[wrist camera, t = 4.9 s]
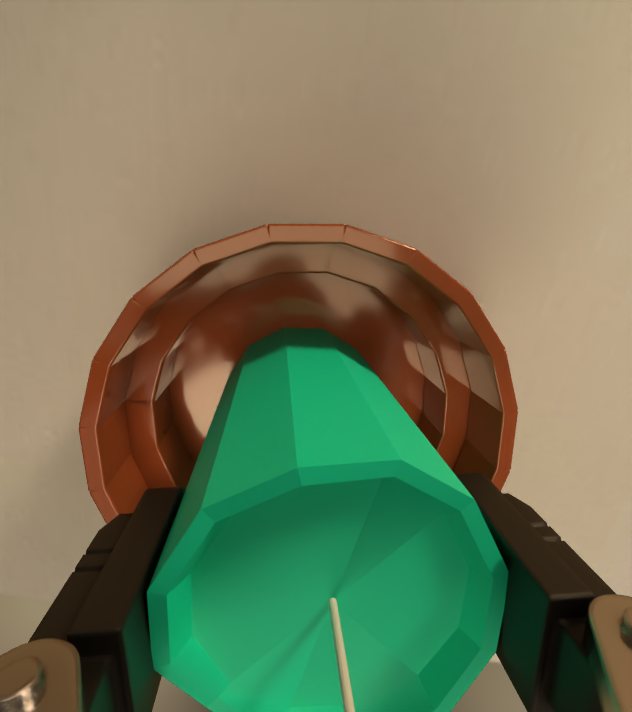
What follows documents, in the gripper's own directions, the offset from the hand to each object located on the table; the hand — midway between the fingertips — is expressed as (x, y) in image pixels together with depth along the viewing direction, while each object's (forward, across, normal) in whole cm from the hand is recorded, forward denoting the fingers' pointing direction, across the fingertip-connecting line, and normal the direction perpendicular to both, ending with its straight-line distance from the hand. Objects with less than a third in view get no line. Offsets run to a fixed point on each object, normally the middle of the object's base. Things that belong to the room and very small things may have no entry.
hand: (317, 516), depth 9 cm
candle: (+8, 0, 0) cm, 8 cm away
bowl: (+8, 0, 0) cm, 8 cm away
